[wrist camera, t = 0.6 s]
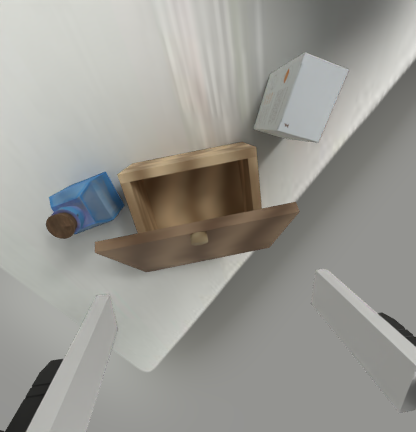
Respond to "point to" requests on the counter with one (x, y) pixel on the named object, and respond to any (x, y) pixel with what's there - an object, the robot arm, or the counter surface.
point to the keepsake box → (192, 186)
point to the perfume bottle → (83, 206)
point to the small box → (300, 98)
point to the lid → (200, 239)
